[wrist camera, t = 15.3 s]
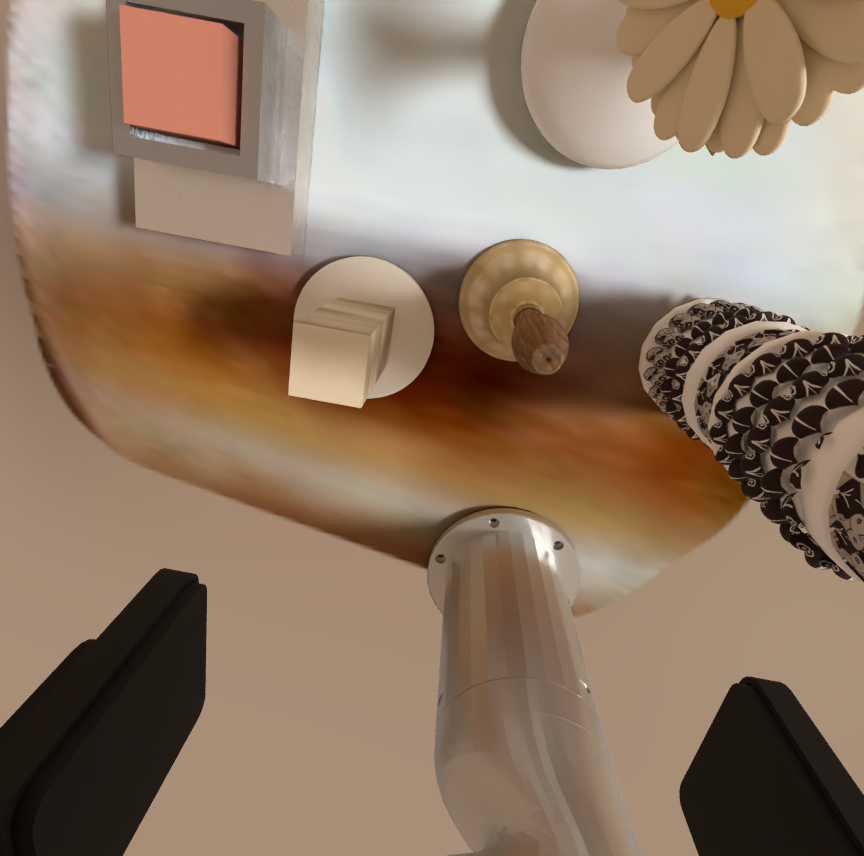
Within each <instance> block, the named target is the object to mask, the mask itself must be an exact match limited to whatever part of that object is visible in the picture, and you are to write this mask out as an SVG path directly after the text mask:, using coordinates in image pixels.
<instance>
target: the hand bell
mask: <svg viewBox="0 0 864 856" xmlns="http://www.w3.org/2000/svg"><path fill="white" fill-rule="evenodd" d="M579 298H580V297H579V286H578V282H577V278H576V276H575V273H574V271H573V269H572V267H571V266H570V264H569V263H568V262H567V260H566V259H565V258H564V257H563V256H562V255H561V254H560V253H559V252H557V251H556V250H555V249H553V248H552V247H550V246H548V245H546V244H544V243H540V242H538V241H534V240H526V239H519V240H510V241H506V242H503V243H500V244H498V245H495V246H493V247H492V248H490V249H488V250H487V251H485V252H484V253H483V254H482V255H480V256H479V257H478V258H477V259H476V260H475V261H474V263H473V264H472V265H471V266H470V268H469V269H468V271H467V273H466V275H465V277H464V279H463V281H462V284H461V288H460V292H459V315H460V319H461V322H462V325H463V328H464V330H465V332H466V334H467V335H468V337H469V338H470V339H471V341H472V342H473V343H474V344H475V345H476V346H477V347H478V348H479V349H481V350H482V351H483V352H485V353H487V354H488V355H491V356H493V357H495V358H497V359H501V360H506V361H517V362H518V363H519V364H520V365H521V366H522V367H523V368H524V369H526V370H527V371H529V372H532V373H535V374H552V373H555V372H556V371H557V370H558V369H559V368H560V367H561V365H562V364H563V362H564V361H565V359H566V357H567V354H568V349H569V342H568V336H567V334H568V333H569V331H570V330H571V328H572V326H573V324H574V322H575V319H576V317H577V313H578V308H579Z"/></svg>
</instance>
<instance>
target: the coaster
mask: <svg viewBox="0 0 864 856" xmlns="http://www.w3.org/2000/svg"><path fill="white" fill-rule="evenodd" d="M337 298H344V299H349V300H355V301H360V302H366V303H372V304H377V305H383V306H388V307H394V308H395V315H394V322H393V329H392V336H391V343H390V350H389V358H388V364H387V365H386V367H385V369H384V370H383V372H382V374H381V375H380V377H379V379H378V380H377V382H376V384H375V385H374V387H373V389H372V390H371V392H370V394H369V396H368V397H367V398H369V399H370V398H379V397H384V396H388V395H390V394H393V393H396V392H398V391H399V390H401V389H403V388H404V387H406V386H407V385H409V384H410V383H411V382H412V381H413V380H414V379H415V378H416V377H417V376H418V375H419V374H420V372H421V371H422V370H423V368H424V366H425V365H426V363H427V361H428V358H429V356H430V353H431V349H432V346H433V341H434V318H433V313H432V309H431V306H430V304H429V301H428V299H427V297H426V295H425V293H424V291H423V290H422V288H421V287H420V286H419V284H418V283H417V282H416V281H415V280H414V279H413V278H412V276H410V275H409V274H408V273H407V272H406V271H404V270H403V269H401V268H400V267H398V266H397V265H395V264H393V263H391V262H388V261H386V260H383V259H380V258H375V257H369V256H355V257H348V258H344V259H340V260H337V261H335V262H332V263H330V264H328V265H326V266H325V267H323V268H321V269H320V270H319V271H318V272H316V273H315V274H314V275H313V276H312V277H311V278H310V279H309V280H308V282H307V283H306V285H305V286H304V288H303V289H302V291H301V293H300V295H299V297H298V300H297V303H296V306H295V312H294V321H296V320H298V319H300V318H302V317H304V316H305V315H307V314H309V313H311V312H313V311H315V310H317V309H318V308H320V307H322V306H324V305H326V304H328V303H329V302H331V301H333V300H335V299H337Z"/></svg>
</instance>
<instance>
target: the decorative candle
mask: <svg viewBox="0 0 864 856" xmlns="http://www.w3.org/2000/svg"><path fill="white" fill-rule="evenodd" d="M638 370H639V373H640V377H641V381H642V385H643V389H644V390H645V391H646V392H647V393H648V395H649V397H651V398H652V399H653V400H654V402H655V403H656V404H657V405H658V406H659V407H660V410H661V411H662V412H664V413H666V412H667V416H668V418H669V419H670V420H672V421H674V420H676V422H677V424H678V426H679V428H680V429H682V430H684V431H686V433H687V435H688V436H689V438H691V439H692V440H700V439H701V440H702V441H703V443H704V445H705V446H706V447H708V448H710V449H712V450H713V452H714V455H715V456H716V457H715V459H716V461H718V462H719V463H721V464H723V465H724V467H725V468H726V469H727V470H728V473H729V476H730V477H731V478H732V479H733V480H736V481H739V482H742V484H741V489H742V492H743V493H744V495H745V496H746V497H748V498H749V499H752V500H754V501H757V502H761V504H760V507H761V511H762V513H763V514H764V515H765V516H766V517H767V519H769V520H770V521H771V522H774V523H777V524H781V525H780V533H781V535H782V537H783V538H784V539H785V540H786V541H787V542H789V543H791V544H792V545H793V546H794V547H796V548H797V549H800V550H803V551H805V559H806V561H807V563H808V564H809V565H810V566H812V567H814V568H817V569H830V568H832V570H833V571H834V573H835V574H836V575H838V576H839V577H841V578H843V579H846V580H854V579H858V580H860V581H862V582H864V335H862V336H859V337H857V336H855V337H853V336H849V335H847V334H845V333H842V332H836V331H810V330H809V329H808V328H806V327H800V326H797V325H796V324H795V322H794V320H793V319H792V318H790V317H788V316H784V315H781V316H777V315H776V314H775V313H773V312H764V311H763V310H761V309H760V308H758V307H755V306H748V305H746V304H743V303H732V302H730V301H728V300H726V299H697V300H694V301H692V302H689V303H686V304H683V305H680V306H677V307H675V308H674V309H672V310H671V311H670V312H669V313H668V314H666V315H665V316H664V317H663V318H661V319H660V320H659V321H658V322H656V323H655V324H654V326H653V328H652V329H651V331H650V333H649V334H648V336H647V338H646V339H645V341H644V343H643V344H642V348H641V354H640V360H639V366H638ZM803 527H805V529H806V530H807V532H808V533H806V534H804V533H803V532H802V531H801V530H800V529H799V528H803Z"/></svg>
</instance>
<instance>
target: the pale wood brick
mask: <svg viewBox="0 0 864 856" xmlns="http://www.w3.org/2000/svg"><path fill="white" fill-rule="evenodd" d="M394 315H395V308H394V307H388V306H383V305H377V304H372V303H366V302H360V301H355V300H349V299H344V298H337V299H335V300H333V301H331V302H329V303H328V304H326V305H324V306H322V307H320V308H318V309H317V310H315V311H313V312H311V313H309V314H307V315H305V316H304V317H302V318H300V319H298V320H296V321H294V322H293V336H292V350H291V364H290V379H289V393H288V395H291V396H296V397H302V398H308V399H313V400H319V401H324V402H330V403H335V404H341V405H346V406H352V407H357V408H361V407H362V406H363V404H364V402H365V401H366V399H367V397H368V396H369V394H370V392H371V390H372V389H373V387H374V385H375V384H376V382H377V380H378V379H379V377H380V375H381V374H382V372H383V370H384V369H385V367H386V365H387V364H388V358H389V350H390V343H391V336H392V329H393V322H394Z"/></svg>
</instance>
